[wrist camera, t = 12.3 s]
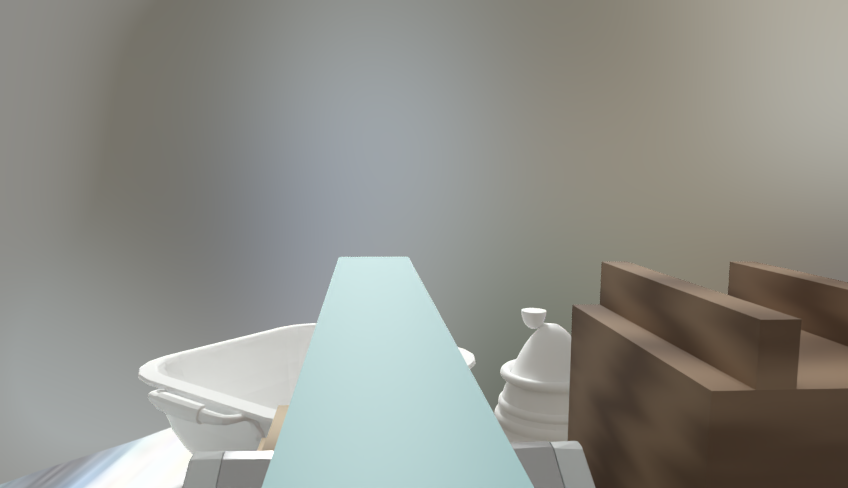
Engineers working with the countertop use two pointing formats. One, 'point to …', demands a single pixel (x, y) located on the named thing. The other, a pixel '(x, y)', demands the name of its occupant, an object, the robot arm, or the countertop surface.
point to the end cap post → (712, 380)
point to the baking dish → (231, 387)
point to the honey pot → (537, 384)
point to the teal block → (388, 395)
